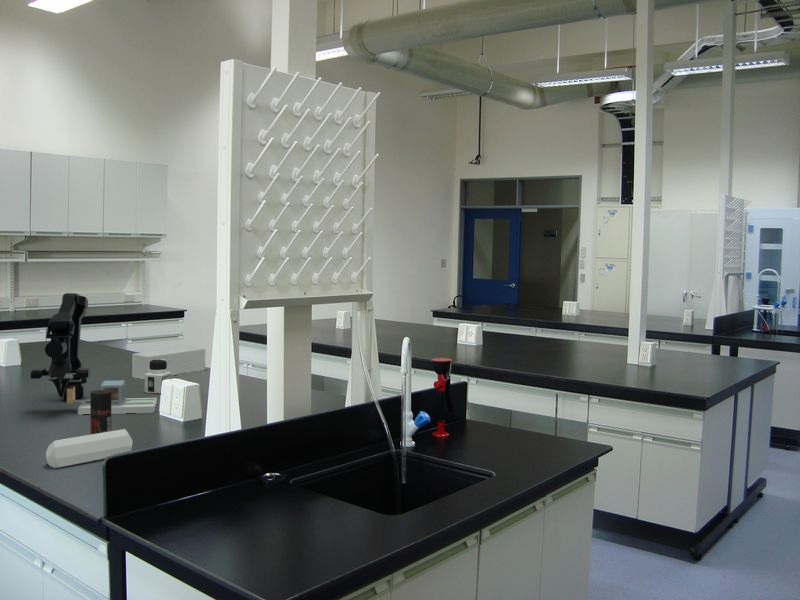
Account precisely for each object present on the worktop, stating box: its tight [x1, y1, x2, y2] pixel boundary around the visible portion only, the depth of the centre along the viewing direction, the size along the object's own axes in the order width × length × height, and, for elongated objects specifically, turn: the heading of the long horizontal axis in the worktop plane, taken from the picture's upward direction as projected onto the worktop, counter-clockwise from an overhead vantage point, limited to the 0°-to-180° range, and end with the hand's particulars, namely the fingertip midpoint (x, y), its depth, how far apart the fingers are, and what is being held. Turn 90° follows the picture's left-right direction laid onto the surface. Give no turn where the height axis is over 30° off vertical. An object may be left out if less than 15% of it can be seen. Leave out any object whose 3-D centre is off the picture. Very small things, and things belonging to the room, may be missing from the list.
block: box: [105, 388, 119, 401], centre depth 260 cm, size 4×4×4 cm
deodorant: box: [89, 389, 112, 435], centre depth 222 cm, size 6×6×15 cm
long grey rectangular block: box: [131, 346, 206, 380], centre depth 328 cm, size 32×11×11 cm, turn 147°
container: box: [144, 359, 172, 395], centre depth 291 cm, size 8×8×13 cm
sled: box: [66, 386, 127, 404], centre depth 259 cm, size 19×5×5 cm, turn 105°
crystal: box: [45, 428, 133, 469], centre depth 204 cm, size 7×7×24 cm
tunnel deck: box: [77, 379, 158, 416], centre depth 261 cm, size 25×14×10 cm, turn 105°
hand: (61, 397), depth 256 cm, fingers closed
